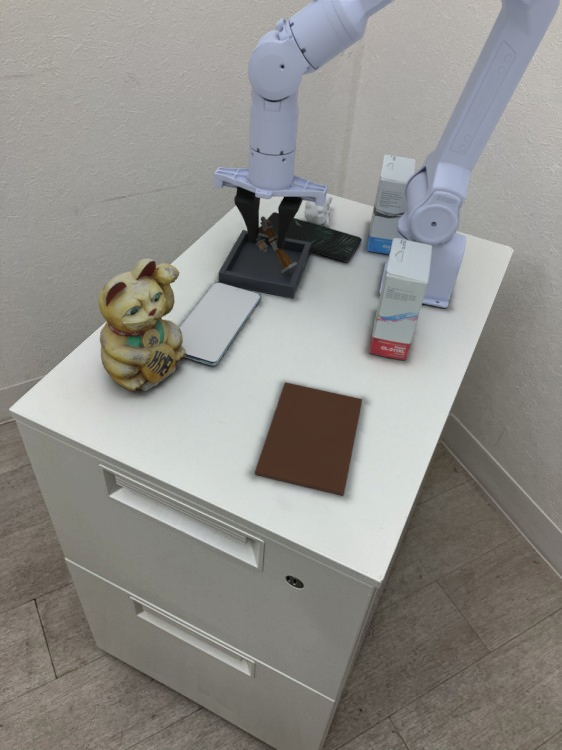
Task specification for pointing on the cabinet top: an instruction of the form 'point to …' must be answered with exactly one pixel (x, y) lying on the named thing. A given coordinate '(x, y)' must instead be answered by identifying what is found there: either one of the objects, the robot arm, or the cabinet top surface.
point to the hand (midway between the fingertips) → (267, 241)
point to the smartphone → (216, 321)
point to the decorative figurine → (140, 326)
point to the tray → (264, 266)
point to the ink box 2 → (401, 298)
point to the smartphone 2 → (319, 238)
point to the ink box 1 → (389, 202)
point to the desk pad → (311, 439)
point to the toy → (318, 212)
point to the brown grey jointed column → (273, 244)
